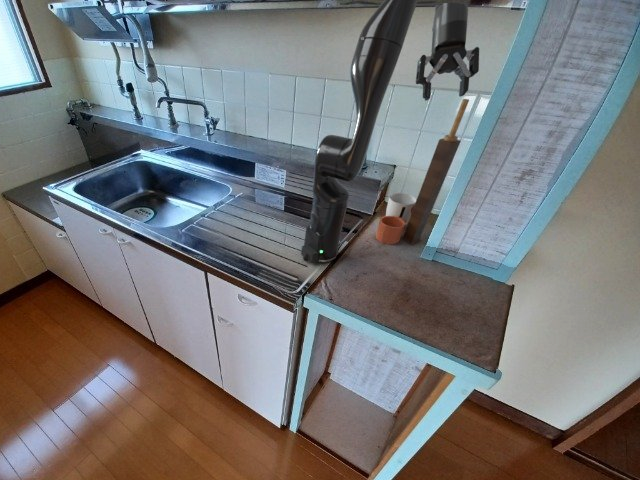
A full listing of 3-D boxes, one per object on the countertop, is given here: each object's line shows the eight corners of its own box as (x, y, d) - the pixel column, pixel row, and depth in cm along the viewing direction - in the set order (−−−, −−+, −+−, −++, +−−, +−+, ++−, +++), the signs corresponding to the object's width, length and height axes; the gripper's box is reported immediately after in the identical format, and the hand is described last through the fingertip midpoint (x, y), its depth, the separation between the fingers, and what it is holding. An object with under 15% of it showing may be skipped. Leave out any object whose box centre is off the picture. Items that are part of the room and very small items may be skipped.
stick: (451, 142, 81) (467, 101, 75) (440, 139, 83) (456, 99, 77) (459, 140, 82) (476, 99, 76) (448, 137, 84) (464, 97, 78)
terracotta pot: (387, 247, 101) (393, 230, 97) (370, 236, 106) (375, 219, 101) (404, 240, 103) (410, 223, 99) (386, 229, 108) (391, 213, 104)
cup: (392, 234, 106) (401, 206, 99) (375, 223, 111) (384, 195, 104) (411, 229, 108) (422, 201, 101) (394, 218, 113) (403, 191, 107)
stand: (411, 244, 102) (451, 143, 81) (402, 238, 104) (439, 139, 83) (419, 240, 103) (461, 140, 82) (409, 235, 105) (448, 136, 85)
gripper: (425, 23, 81) (421, 95, 84) (488, 13, 78) (482, 88, 82) (414, 40, 88) (411, 106, 91) (472, 31, 85) (467, 99, 89)
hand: (444, 97), depth 86 cm, fingers open, 8 cm apart
